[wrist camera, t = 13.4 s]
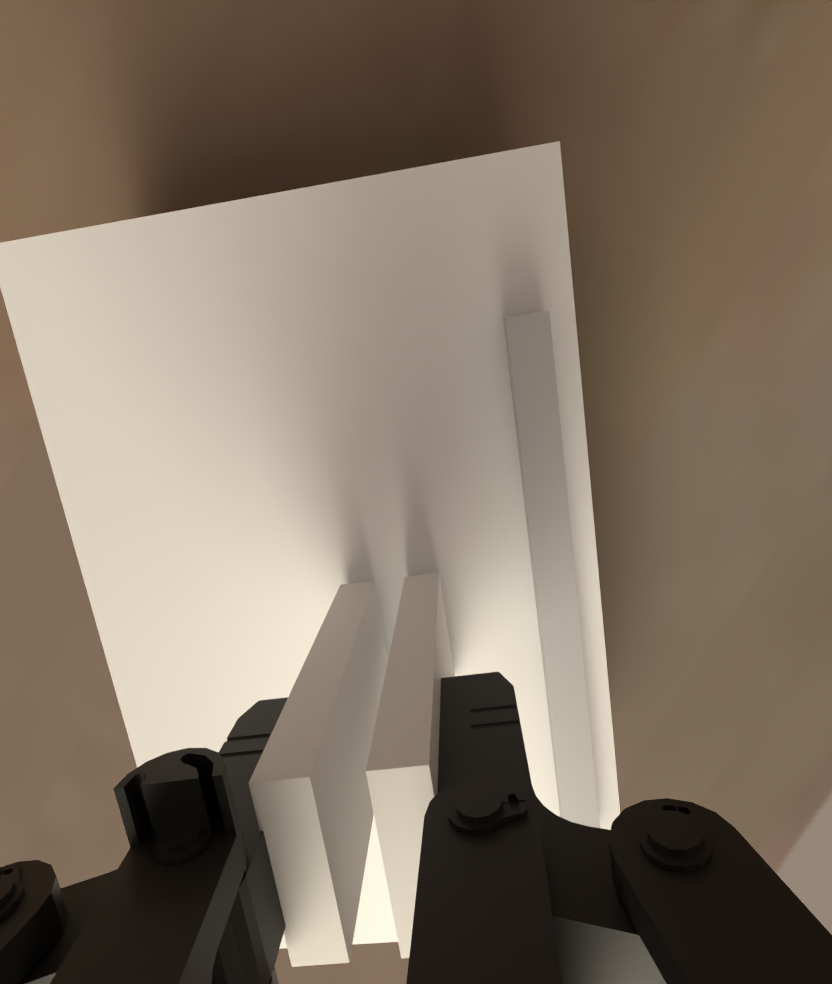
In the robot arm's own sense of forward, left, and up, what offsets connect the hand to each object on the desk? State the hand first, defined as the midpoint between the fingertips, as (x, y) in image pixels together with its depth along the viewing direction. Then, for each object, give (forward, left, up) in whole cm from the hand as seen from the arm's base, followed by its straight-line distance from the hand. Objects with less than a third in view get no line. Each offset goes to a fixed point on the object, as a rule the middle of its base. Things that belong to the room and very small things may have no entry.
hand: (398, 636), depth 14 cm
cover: (0, -1, -1) cm, 2 cm away
